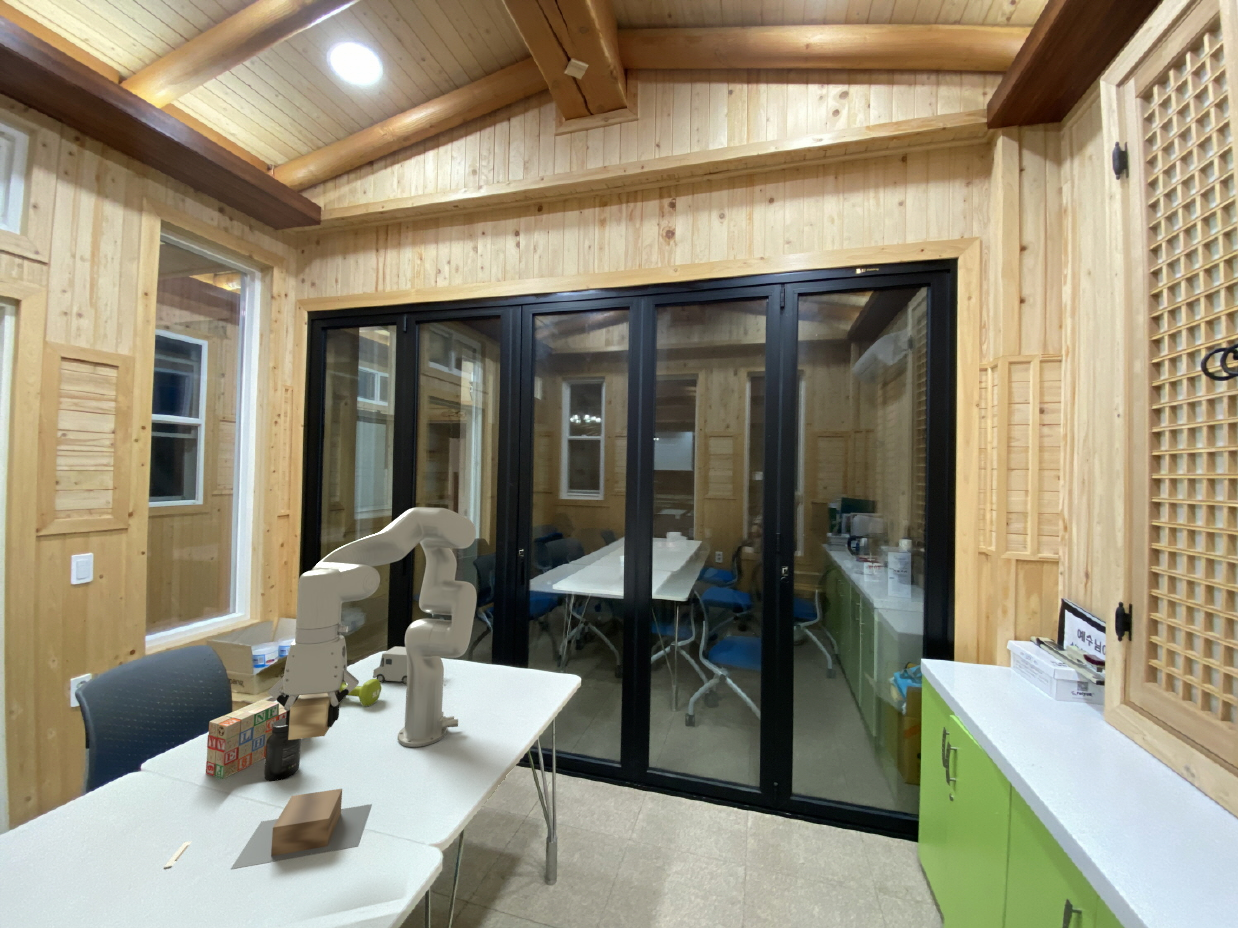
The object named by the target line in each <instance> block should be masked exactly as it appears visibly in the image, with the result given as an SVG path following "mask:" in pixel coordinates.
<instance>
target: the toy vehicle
mask: <svg viewBox="0 0 1238 928" xmlns="http://www.w3.org/2000/svg"><path fill="white" fill-rule="evenodd" d="M372 673H373V675H372V679H378V680H379V681H380V683H383V682H384V681H387V682H388V681H389V682H402V683H403V684H404V685H407V653H406V647H405V646H393V647H391V648H390V649H388V650H386V651H385V652H383V653H382V655H381V658H380V662H379V666H377V667H376V668H374V669H373V672H372Z"/></svg>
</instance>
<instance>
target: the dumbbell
mask: <svg viewBox="0 0 1238 928" xmlns="http://www.w3.org/2000/svg"><path fill="white" fill-rule="evenodd" d="M347 686H348V684H347V683H346V682H343V683H341V687H340V692H341V691H342V690H343V689H344V688H346V687H347ZM381 692H382V684H381V682H380V681H379V680H378V679H376V678H371V679H368V680H366V682H364V683H363V684H362V686H361V685H357V686H356V687H355V688H354V689H353V690H352V691H351V692H350V693H349V694H348V695H347V696H349V697H358V699H359V702H360V704H361V705H362V706H363V707H370V706H372V705H374V704H375V703H376V702H378V700H379V698H380V694H381ZM347 696H346V697H347Z"/></svg>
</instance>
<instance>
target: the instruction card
mask: <svg viewBox="0 0 1238 928" xmlns="http://www.w3.org/2000/svg"><path fill="white" fill-rule="evenodd" d="M192 843H193V840H189V841H184V842H183V843H182V845H180V846H179V848H178V849H177V850H176V851H175V852H174V854H173V855H172V856H171V857H170V859H169V860H168V861H167V863H166V864H165V865H164V866H163V869H167V868H172V867H174V865H175V864H176V862H177V861H178V860H179V859H180V857H181V856H182V855H183V854H184V852H185V851H186V850H187V849H188V848H189V846H190V845H191V844H192Z"/></svg>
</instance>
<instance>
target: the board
mask: <svg viewBox="0 0 1238 928" xmlns="http://www.w3.org/2000/svg"><path fill="white" fill-rule="evenodd" d="M372 807H373V804H372V803H371V804H366V805H365V804H364V805H358V806H351V807H346V808H345V807H344V808H341V814H340V817H339V819H338V822H337V824H336V826H335V829H334V831H333V834H332V836H331V838H330V841H329V843H328V846H325V847H320V848H314V849H308V850H303V851H297V852H291V853H286V854H280V855H274V856H271V848H272V833H273V826H274V825H275V823H276V821H277V820H278V818H275V819H270V820H261V821H260V823H259V824H258V826H257V828H256V829H255V830H254V832H253V834H252V835H251V837H250V838H249V839H248V841H247V843H246V844H245V845H244V848H243V849H242V851H241V852H240V853H239V856H238V857H237V859H235V862H234V863H233V864H232V866H231V868H230V870H235V869H241V868H246V867H252V866H258V865H263V864H268V863H273V862H280V861H285V860H290V859H297V858H302V857H307V856H312V855H319V854H324V853H329V852H334V851H341V850H347V849H352V848H358V847H359V844H360V842H361V839H362V835H363V833H364V829H365V826H366V823H367V820H368V818H369V815H370V811H371V808H372Z"/></svg>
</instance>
